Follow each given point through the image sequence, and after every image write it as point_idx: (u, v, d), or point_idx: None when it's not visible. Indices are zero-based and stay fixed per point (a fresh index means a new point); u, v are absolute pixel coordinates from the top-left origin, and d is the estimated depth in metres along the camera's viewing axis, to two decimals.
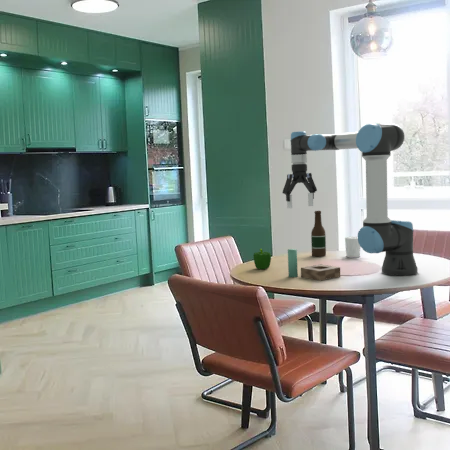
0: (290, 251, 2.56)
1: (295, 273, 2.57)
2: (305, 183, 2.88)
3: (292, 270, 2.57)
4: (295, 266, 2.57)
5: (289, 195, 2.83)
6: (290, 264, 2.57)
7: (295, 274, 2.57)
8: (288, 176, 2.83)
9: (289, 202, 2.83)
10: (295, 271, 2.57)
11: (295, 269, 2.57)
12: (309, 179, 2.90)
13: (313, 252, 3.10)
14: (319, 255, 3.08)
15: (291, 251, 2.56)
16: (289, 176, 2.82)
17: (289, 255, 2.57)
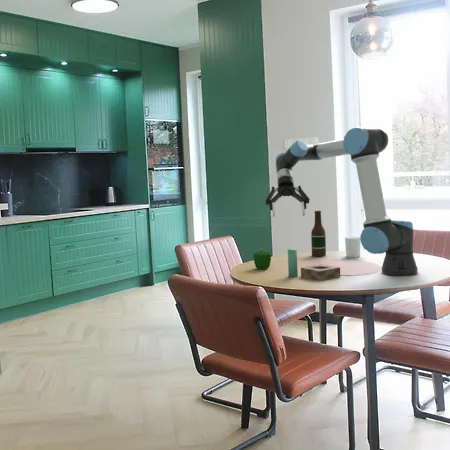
0: (290, 251, 2.56)
1: (295, 273, 2.57)
2: (294, 194, 2.74)
3: (292, 270, 2.57)
4: (295, 266, 2.57)
5: (271, 203, 2.71)
6: (290, 264, 2.57)
7: (295, 274, 2.57)
8: (271, 190, 2.77)
9: (272, 209, 2.69)
10: (295, 271, 2.57)
11: (295, 269, 2.57)
12: (299, 192, 2.75)
13: (313, 252, 3.10)
14: (319, 255, 3.08)
15: (291, 251, 2.56)
16: None
17: (289, 255, 2.57)
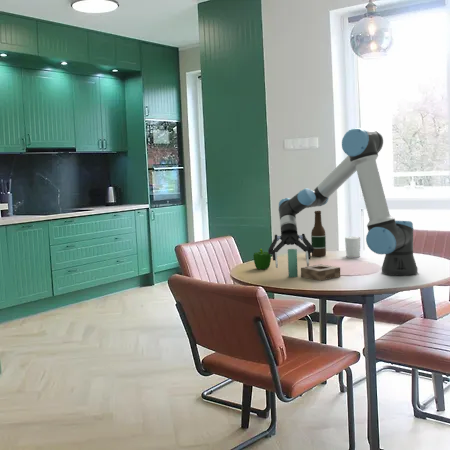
0: (290, 251, 2.56)
1: (295, 273, 2.57)
2: (297, 243, 2.64)
3: (292, 270, 2.57)
4: (295, 266, 2.57)
5: (274, 253, 2.61)
6: (290, 264, 2.57)
7: (295, 274, 2.57)
8: (274, 238, 2.67)
9: (275, 260, 2.59)
10: (295, 271, 2.57)
11: (295, 269, 2.57)
12: (303, 240, 2.65)
13: (313, 252, 3.10)
14: (319, 255, 3.08)
15: (291, 251, 2.56)
16: None
17: (289, 255, 2.57)
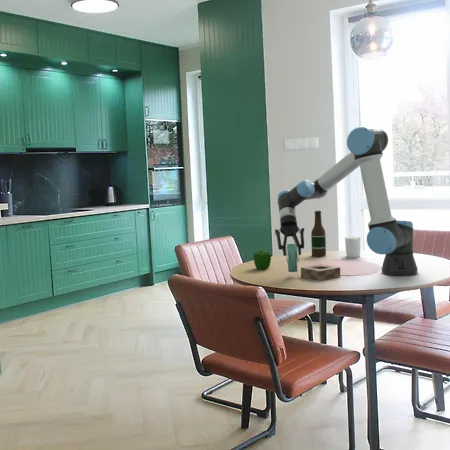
0: (289, 246, 2.56)
1: (295, 268, 2.57)
2: (293, 236, 2.62)
3: (292, 265, 2.56)
4: (295, 261, 2.56)
5: (285, 248, 2.58)
6: (290, 259, 2.56)
7: (295, 269, 2.57)
8: (275, 233, 2.65)
9: (286, 255, 2.56)
10: (295, 266, 2.57)
11: (295, 264, 2.56)
12: (300, 234, 2.63)
13: (313, 252, 3.10)
14: (319, 255, 3.08)
15: (290, 246, 2.56)
16: (275, 232, 2.64)
17: (288, 250, 2.56)
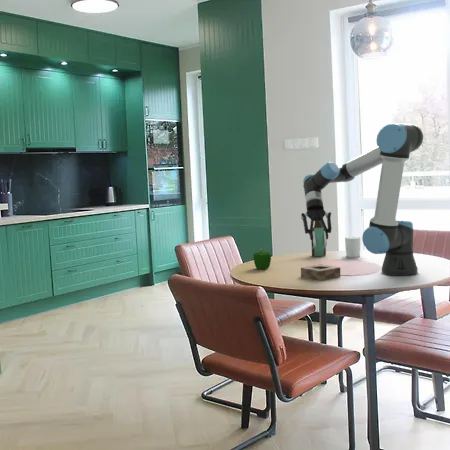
0: (317, 230, 2.52)
1: (322, 252, 2.53)
2: (320, 220, 2.59)
3: (319, 249, 2.53)
4: (322, 245, 2.53)
5: (312, 232, 2.54)
6: (317, 243, 2.53)
7: (322, 253, 2.53)
8: (302, 217, 2.61)
9: (313, 239, 2.52)
10: (322, 250, 2.53)
11: (322, 248, 2.53)
12: (327, 218, 2.59)
13: (313, 252, 3.10)
14: None
15: (318, 230, 2.52)
16: (302, 216, 2.60)
17: (316, 234, 2.53)
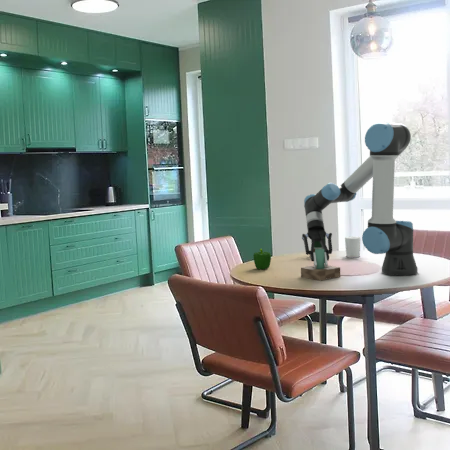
0: (318, 251, 2.53)
1: None
2: (321, 241, 2.59)
3: None
4: (322, 266, 2.54)
5: (313, 253, 2.55)
6: (317, 264, 2.54)
7: None
8: (302, 238, 2.62)
9: (314, 260, 2.53)
10: None
11: None
12: (328, 239, 2.60)
13: None
14: None
15: (319, 251, 2.53)
16: (303, 237, 2.61)
17: (316, 255, 2.54)
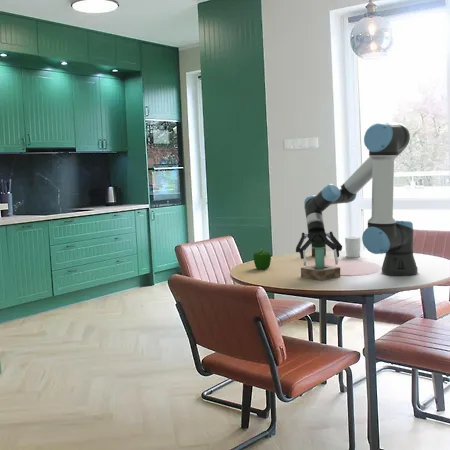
0: (317, 251, 2.53)
1: None
2: (325, 241, 2.60)
3: None
4: (322, 266, 2.54)
5: (302, 251, 2.56)
6: (317, 264, 2.54)
7: None
8: (301, 236, 2.63)
9: (303, 258, 2.55)
10: None
11: None
12: (331, 238, 2.61)
13: (313, 252, 3.10)
14: None
15: (318, 251, 2.53)
16: None
17: (316, 255, 2.54)
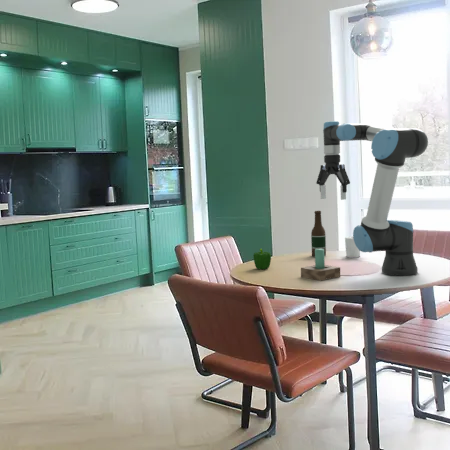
0: (317, 251, 2.53)
1: None
2: None
3: None
4: (322, 266, 2.54)
5: (321, 186, 2.85)
6: (317, 264, 2.54)
7: None
8: None
9: None
10: None
11: None
12: None
13: (313, 252, 3.10)
14: None
15: (318, 251, 2.53)
16: None
17: (316, 255, 2.54)
